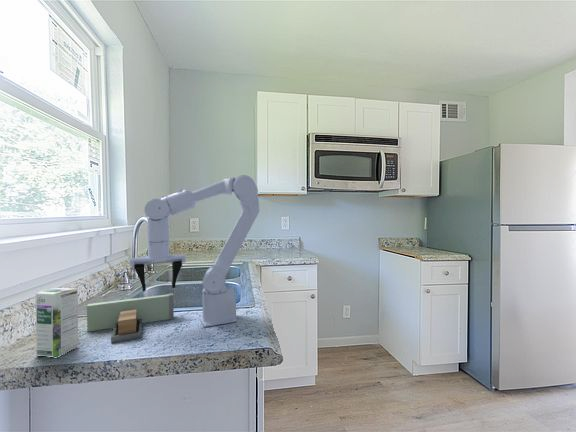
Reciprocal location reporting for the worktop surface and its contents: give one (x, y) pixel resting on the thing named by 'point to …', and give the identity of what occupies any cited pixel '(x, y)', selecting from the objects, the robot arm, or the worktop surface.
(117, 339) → the socket
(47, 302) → the syrup box
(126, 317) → the bar
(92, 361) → the worktop surface
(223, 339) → the worktop surface
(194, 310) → the worktop surface
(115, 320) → the door panel
